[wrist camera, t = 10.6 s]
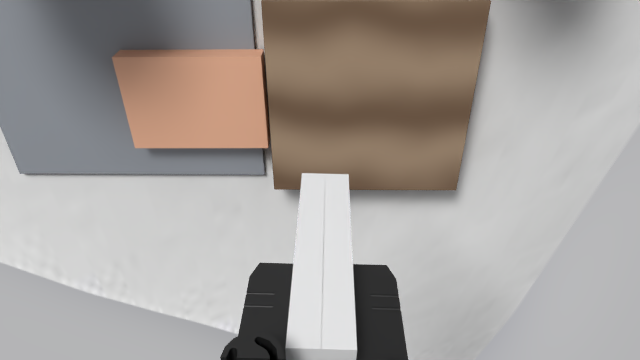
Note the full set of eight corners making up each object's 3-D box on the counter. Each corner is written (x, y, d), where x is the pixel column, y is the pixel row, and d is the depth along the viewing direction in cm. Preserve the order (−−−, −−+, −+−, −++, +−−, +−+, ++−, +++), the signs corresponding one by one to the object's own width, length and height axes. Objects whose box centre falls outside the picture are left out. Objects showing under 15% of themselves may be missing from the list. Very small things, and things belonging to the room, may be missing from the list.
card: (119, 49, 33) (111, 57, 32) (263, 49, 33) (260, 56, 32) (141, 138, 37) (135, 148, 36) (270, 138, 37) (268, 148, 36)
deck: (265, -8, 32) (261, 1, 29) (480, -9, 31) (491, 1, 29) (277, 171, 39) (274, 189, 37) (449, 172, 39) (456, 190, 37)
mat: (-51, -8, 32) (-55, -6, 32) (250, -8, 32) (249, -7, 31) (22, 171, 40) (19, 173, 39) (265, 171, 39) (264, 174, 39)
